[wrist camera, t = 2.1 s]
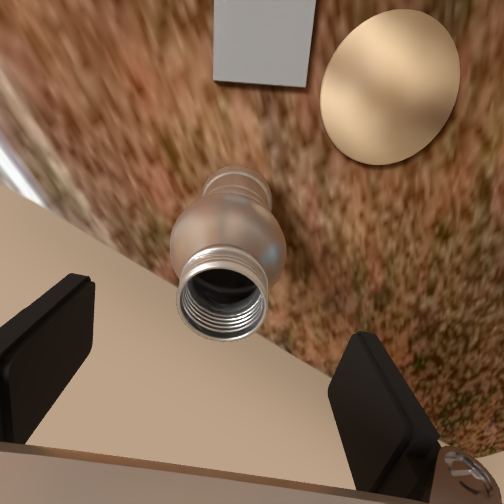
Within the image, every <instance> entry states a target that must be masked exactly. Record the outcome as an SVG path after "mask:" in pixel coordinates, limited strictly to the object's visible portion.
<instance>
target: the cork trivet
mask: <svg viewBox="0 0 504 504" xmlns="http://www.w3.org/2000/svg"><path fill="white" fill-rule="evenodd" d="M459 83H460V62H459V57H458V52H457V49H456V46H455V43H454V41H453V40H452V38H451V36H450V34H449V33H448V31H447V30H446V29H445V27H444V26H443V25H442V24H440V23H439V22H438V21H437V20H436V19H434V18H433V17H431V16H430V15H427V14H425V13H423V12H420V11H416V10H409V9H398V10H391V11H387V12H383V13H380V14H378V15H376V16H373V17H371V18H370V19H368V20H366V21H365V22H363V23H362V24H361V25H359V26H358V27H357V28H355V29H354V30H353V31H352V32H351V33H350V34H349V35H348V36H347V37H346V38H345V39H344V40H343V41H342V42H341V44H340V45H339V46H338V47H337V49H336V50H335V52H334V54H333V55H332V57H331V59H330V61H329V63H328V65H327V67H326V70H325V73H324V76H323V79H322V84H321V89H320V114H321V119H322V123H323V126H324V129H325V131H326V133H327V135H328V137H329V139H330V140H331V142H332V143H333V144H334V146H335V147H336V148H337V149H338V150H339V151H340V152H342V153H343V154H344V155H346V156H347V157H349V158H351V159H353V160H356V161H359V162H362V163H366V164H371V165H385V164H391V163H395V162H399V161H401V160H404V159H406V158H408V157H410V156H412V155H414V154H415V153H417V152H419V151H420V150H421V149H423V148H424V147H425V146H426V145H428V144H429V143H430V142H431V141H432V140H433V139H434V138H435V136H436V135H437V134H438V133H439V131H440V130H441V129H442V127H443V126H444V124H445V123H446V121H447V119H448V117H449V116H450V114H451V112H452V109H453V107H454V104H455V101H456V98H457V94H458V89H459Z"/></svg>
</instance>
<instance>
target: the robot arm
mask: <svg viewBox="0 0 504 504" xmlns="http://www.w3.org/2000/svg"><path fill="white" fill-rule="evenodd" d="M94 300H95V283H94V282H91V279H90V277H89V276H83V275H78V274H73V273H70V274H68V275H67V276H66V277H65V278H63V279H62V280H61V281H60V282H58V283H57V284H56V285H55V286H53V287H52V288H51V289H50V290H48V291H47V292H46V293H45V294H43V295H42V296H41V297H40V298H38V299H37V300H36V301H34V302H33V303H32V304H31V305H29V306H28V307H26V308H25V309H23V310H22V311H21V312H19V313H18V314H17V315H16V316H14V317H13V318H12V319H10V320H9V321H8V322H7V323H6V324H4V325H3V326H2V327H0V504H502V502H501V494H500V489H499V487H498V485H497V483H496V482H495V480H494V478H493V477H492V476H491V474H490V473H489V472H488V470H487V469H486V468H484V466H483V465H482V464H481V463H479V461H477V460H476V459H475V458H473V457H472V456H471V455H470V454H468V453H466V452H464V451H463V450H461V449H458V448H455V447H453V446H444V447H441V446H440V444H439V443H438V441H437V440H438V439H439V438H440V435H439V433H438V432H437V430H436V429H435V427H434V426H433V424H432V422H431V421H430V419H429V418H428V416H427V415H426V413H425V411H424V410H423V408H422V407H421V405H420V403H419V402H418V400H417V399H416V397H415V396H414V394H413V392H412V391H411V389H410V388H409V386H408V384H407V383H406V381H405V380H404V378H403V377H402V375H401V373H400V372H399V370H398V369H397V367H396V365H395V364H394V362H393V361H392V359H391V358H390V356H389V354H388V353H387V351H386V350H385V348H384V347H383V345H382V343H381V342H380V340H379V339H378V337H377V336H376V335H375V334H372V333H367V332H362V331H358V332H357V333H356V334H353V335H352V336H351V338H350V340H349V343H348V345H347V347H346V349H345V352H344V354H343V356H342V358H341V360H340V363H339V365H338V367H337V369H336V371H335V374H334V376H333V378H332V380H331V383H330V385H329V387H328V398H329V401H330V404H331V408H332V411H333V414H334V418H335V421H336V424H337V427H338V431H339V434H340V437H341V440H342V444H343V447H344V451H345V454H346V457H347V460H348V464H349V467H350V470H351V473H352V477H353V480H354V483H355V487H356V490H351V489H344V488H337V487H330V486H324V485H317V484H310V483H303V482H297V481H289V480H283V479H276V478H269V477H262V476H255V475H247V474H241V473H234V472H227V471H220V470H213V469H206V468H199V467H192V466H185V465H177V464H171V463H163V462H155V461H149V460H141V459H134V458H127V457H119V456H112V455H104V454H97V453H89V452H82V451H75V450H67V449H58V448H50V447H41V446H33V445H24V444H25V443H26V442H27V440H28V439H29V437H30V436H31V435H32V433H33V432H34V430H35V429H36V428H37V426H38V425H39V423H40V422H41V421H42V419H43V418H44V416H45V415H46V414H47V412H48V411H49V410H50V408H51V407H52V405H53V404H54V402H55V401H56V400H57V398H58V397H59V396H60V394H61V393H62V391H63V390H64V388H65V387H66V385H67V384H68V383H69V382H70V380H71V379H72V377H73V376H74V375H75V373H76V372H77V370H78V369H79V368H80V366H81V365H82V363H83V362H84V361H85V359H86V358H87V356H88V355H89V353H90V351H91V348H92V341H93V322H94Z"/></svg>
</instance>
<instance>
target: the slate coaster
mask: <svg viewBox="0 0 504 504" xmlns="http://www.w3.org/2000/svg"><path fill="white" fill-rule="evenodd" d="M315 4H316V0H214V60H213V80H214V81H218V82H231V83H244V84H257V85H270V86H283V87H296V88H305V87H306V79H307V70H308V62H309V54H310V46H311V37H312V29H313V21H314V12H315Z"/></svg>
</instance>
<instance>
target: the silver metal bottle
mask: <svg viewBox="0 0 504 504" xmlns="http://www.w3.org/2000/svg"><path fill="white" fill-rule="evenodd" d="M271 209H272V194H271V190H270V188H269V186H268V184H267V182H266V181H265V180H264V178H263V177H262V176H261V175H260V174H258V173H257V172H255V171H254V170H252V169H250V168H247V167H244V166H239V165H232V166H226V167H223V168H221V169H219V170H217V171H215V172H214V173H213V174H212V175H211V176H210V177H209V178H208V179H207V181H206V183H205V185H204V187H203V191H202V198H201V199H198V200H197V201H195V202H194V203H193V204H191V205H190V206H189V207H188V208H186V209H185V210H184V211H183V213H182V214H181V215H180V216H179V217H178V219H177V221H176V223H175V225H174V226H173V229H172V233H171V237H170V253H171V259H172V265H173V267H174V269H175V272H176V274H177V276H178V277H179V279H180V284H179V287H178V290H177V297H176V305H177V310H178V313H179V315H180V317H181V319H182V320H183V322H184V323H185V325H187V326H188V327H189V328H190V329H191V330H192V331H193V332H195V333H196V334H198V335H200V336H202V337H204V338H206V339H210V340H213V341H220V342H231V341H236V340H241V339H243V338H246V337H248V336H250V335H251V334H253V333H254V332H256V331H257V330H258V329H259V328H260V326H261V325H262V324H263V322H264V320H265V318H266V316H267V311H268V291H270V290H271V289H272V288H273V286H274V285H275V284H276V282H277V281H278V279H279V277H280V274H281V272H282V270H283V268H284V265H285V260H286V242H285V238H284V234H283V232H282V230H281V228H280V226H279V224H278V222H277V220H276V219H275V217H274V216H273V215H272V213H271Z"/></svg>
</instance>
